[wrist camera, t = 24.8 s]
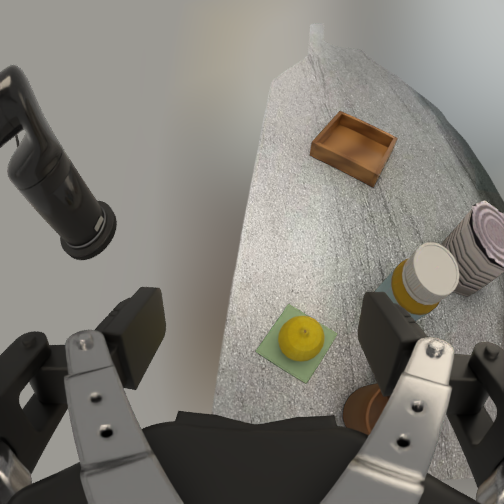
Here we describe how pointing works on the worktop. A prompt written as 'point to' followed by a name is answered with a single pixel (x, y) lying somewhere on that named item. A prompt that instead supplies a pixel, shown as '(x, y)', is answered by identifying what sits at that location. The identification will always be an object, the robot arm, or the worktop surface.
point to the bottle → (422, 280)
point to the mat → (275, 355)
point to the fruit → (301, 338)
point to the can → (477, 248)
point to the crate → (354, 147)
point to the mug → (364, 408)
